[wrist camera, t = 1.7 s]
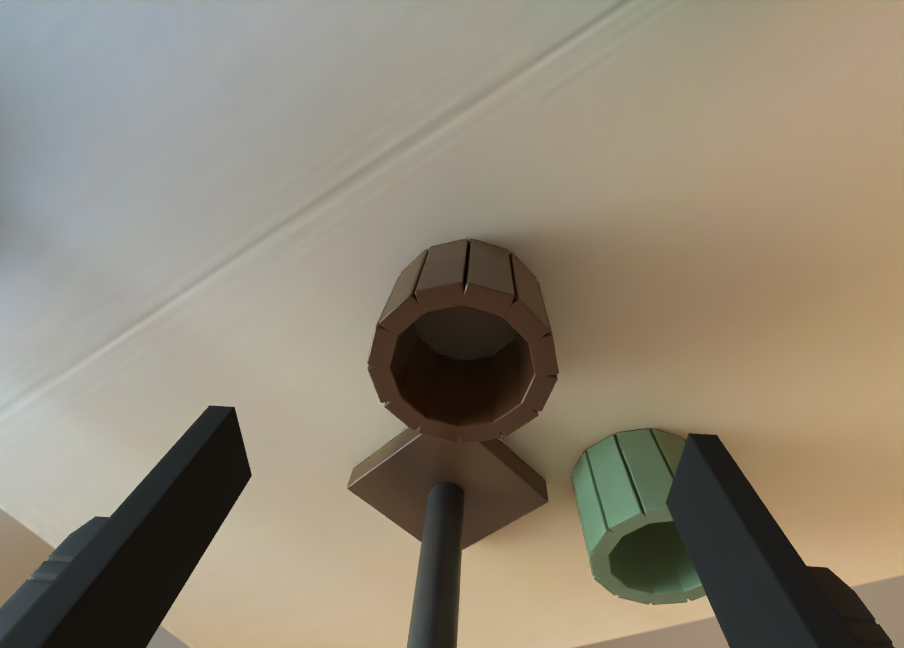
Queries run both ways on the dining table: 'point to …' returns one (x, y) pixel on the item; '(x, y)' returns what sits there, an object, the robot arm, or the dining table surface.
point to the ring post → (445, 513)
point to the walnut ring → (452, 380)
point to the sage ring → (634, 518)
